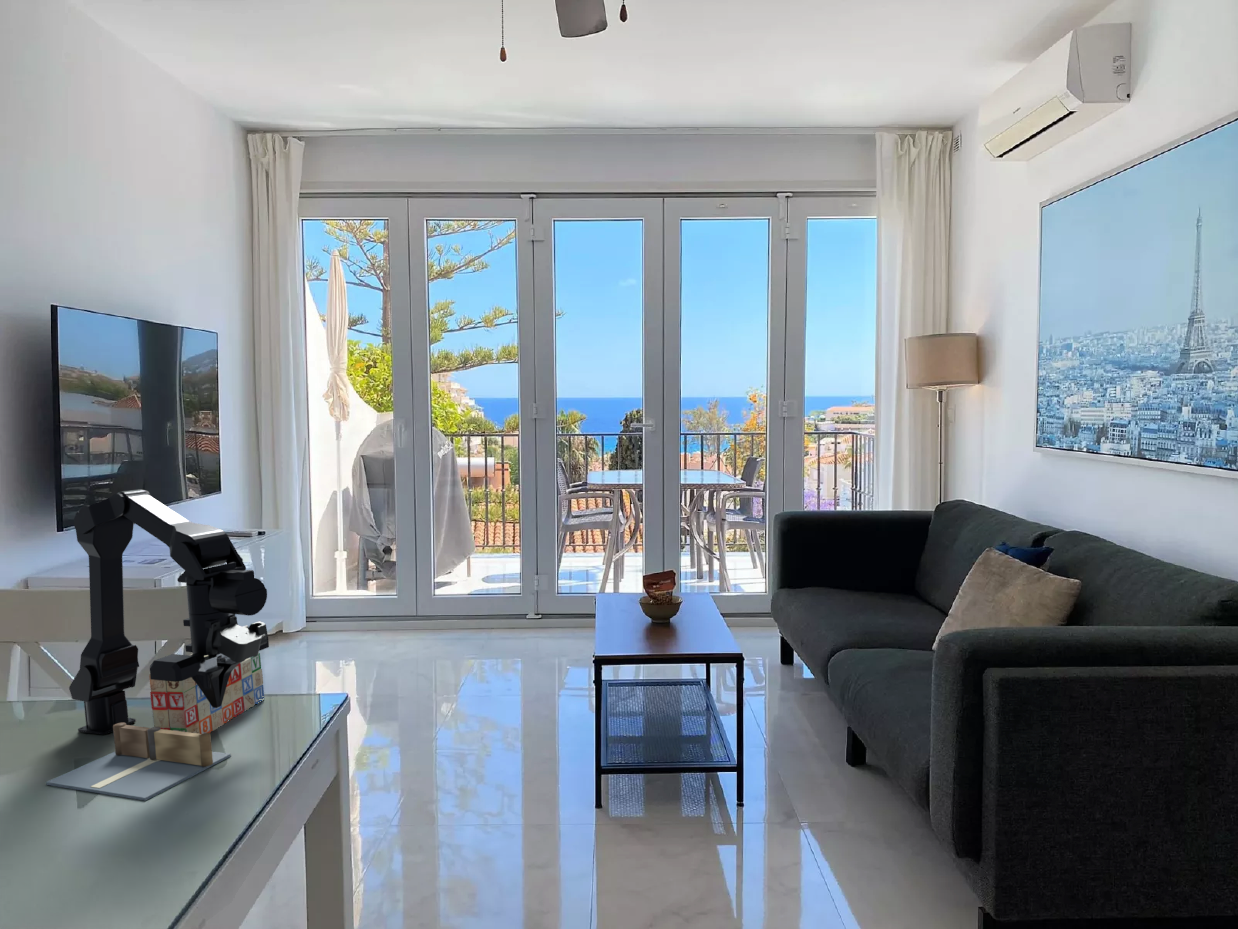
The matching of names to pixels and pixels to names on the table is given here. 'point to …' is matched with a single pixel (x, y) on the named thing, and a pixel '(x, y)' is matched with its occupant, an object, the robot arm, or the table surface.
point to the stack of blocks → (205, 700)
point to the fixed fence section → (131, 740)
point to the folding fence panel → (180, 746)
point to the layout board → (130, 775)
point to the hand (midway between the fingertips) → (216, 706)
